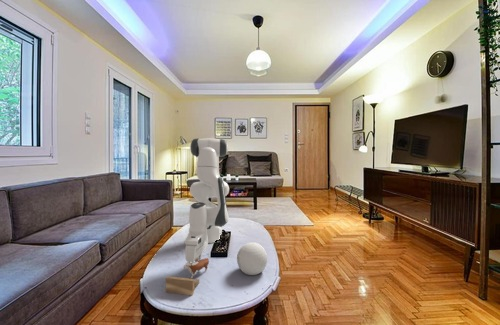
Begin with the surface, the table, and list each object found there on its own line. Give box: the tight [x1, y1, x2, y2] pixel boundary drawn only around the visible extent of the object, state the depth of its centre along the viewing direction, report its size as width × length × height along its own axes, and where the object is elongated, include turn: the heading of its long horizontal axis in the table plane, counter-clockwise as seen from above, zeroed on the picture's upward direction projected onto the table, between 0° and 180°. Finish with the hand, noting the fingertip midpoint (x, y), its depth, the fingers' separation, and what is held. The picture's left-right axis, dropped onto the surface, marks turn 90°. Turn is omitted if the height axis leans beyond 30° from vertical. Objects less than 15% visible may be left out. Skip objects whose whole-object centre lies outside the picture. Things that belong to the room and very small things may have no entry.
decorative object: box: [236, 241, 268, 276], centre depth 117 cm, size 15×15×15 cm
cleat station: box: [165, 276, 200, 296], centre depth 104 cm, size 10×12×6 cm
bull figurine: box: [183, 257, 210, 279], centre depth 114 cm, size 4×13×8 cm, turn 133°
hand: (197, 263), depth 119 cm, fingers closed
